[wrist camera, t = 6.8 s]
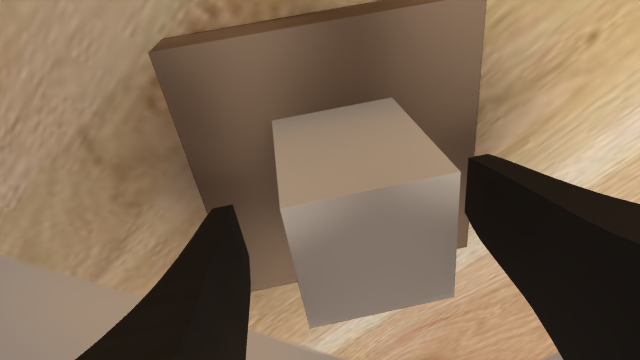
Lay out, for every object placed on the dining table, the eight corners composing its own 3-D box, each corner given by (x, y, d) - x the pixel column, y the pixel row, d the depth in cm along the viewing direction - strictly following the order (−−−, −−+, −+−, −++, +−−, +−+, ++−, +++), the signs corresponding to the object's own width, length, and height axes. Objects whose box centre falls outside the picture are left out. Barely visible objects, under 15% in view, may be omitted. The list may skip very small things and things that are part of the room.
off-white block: (294, 217, 15) (309, 328, 10) (271, 120, 12) (280, 208, 8) (396, 197, 15) (453, 296, 10) (391, 97, 13) (461, 172, 8)
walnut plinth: (239, 261, 18) (237, 294, 16) (162, 38, 13) (148, 52, 11) (447, 219, 18) (466, 246, 17) (457, -13, 13) (487, -8, 11)
